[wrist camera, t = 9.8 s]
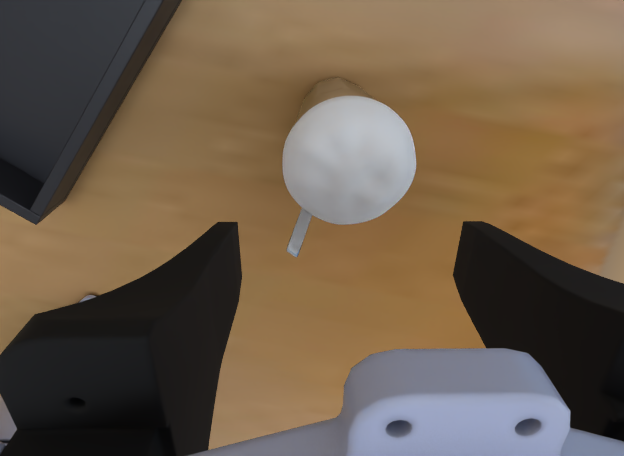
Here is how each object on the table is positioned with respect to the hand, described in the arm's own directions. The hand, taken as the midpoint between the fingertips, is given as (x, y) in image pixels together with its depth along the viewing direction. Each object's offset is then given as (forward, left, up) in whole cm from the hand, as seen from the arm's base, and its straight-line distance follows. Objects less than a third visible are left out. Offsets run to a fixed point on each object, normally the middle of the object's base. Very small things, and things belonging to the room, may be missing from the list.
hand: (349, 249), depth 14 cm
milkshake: (+1, +2, -10) cm, 11 cm away
